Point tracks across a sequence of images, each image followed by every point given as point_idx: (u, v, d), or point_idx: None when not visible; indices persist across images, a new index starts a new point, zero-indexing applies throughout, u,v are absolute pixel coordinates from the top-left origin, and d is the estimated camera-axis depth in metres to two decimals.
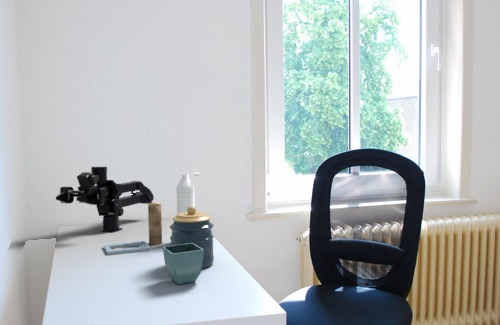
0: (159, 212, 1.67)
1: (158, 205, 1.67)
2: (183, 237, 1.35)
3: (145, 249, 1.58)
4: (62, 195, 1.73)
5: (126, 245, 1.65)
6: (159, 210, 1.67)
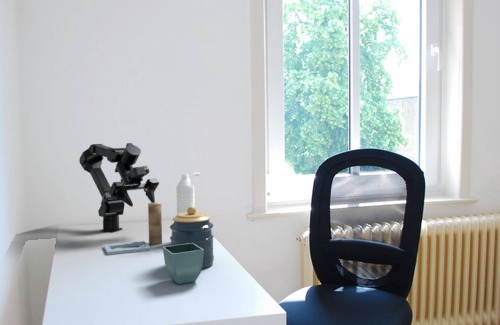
0: (159, 212, 1.67)
1: (158, 205, 1.67)
2: (183, 238, 1.35)
3: (145, 249, 1.58)
4: None
5: (126, 245, 1.65)
6: (159, 210, 1.67)
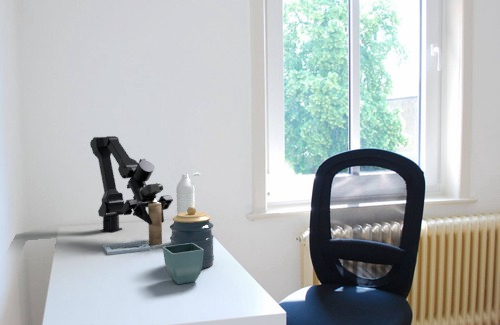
0: (159, 212, 1.67)
1: (158, 205, 1.67)
2: (183, 238, 1.35)
3: (145, 249, 1.58)
4: None
5: (126, 245, 1.65)
6: (159, 210, 1.67)
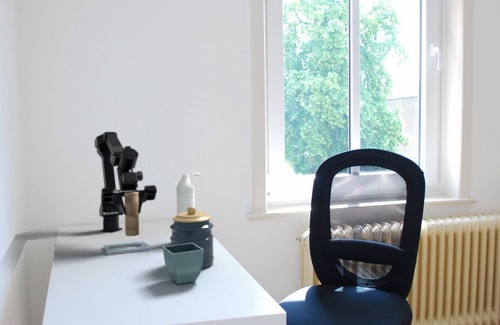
0: (134, 202, 1.59)
1: (132, 195, 1.59)
2: (183, 237, 1.35)
3: (145, 249, 1.58)
4: None
5: (126, 245, 1.65)
6: (134, 200, 1.59)
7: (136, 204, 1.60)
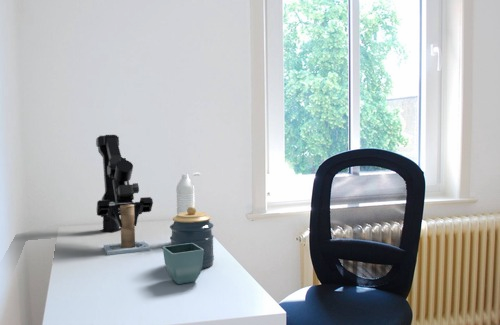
0: (130, 215, 1.59)
1: (128, 207, 1.59)
2: (183, 238, 1.35)
3: (145, 249, 1.58)
4: None
5: None
6: (130, 213, 1.59)
7: (132, 217, 1.60)
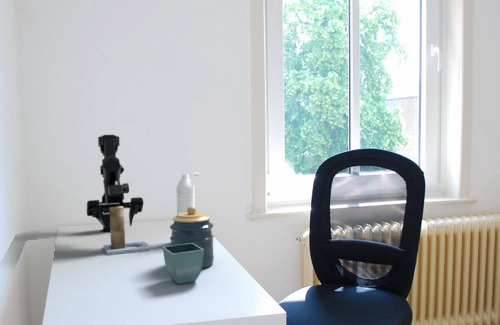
0: (119, 217, 1.58)
1: (117, 209, 1.57)
2: (183, 237, 1.35)
3: (145, 249, 1.58)
4: None
5: (126, 245, 1.65)
6: (119, 215, 1.58)
7: (121, 219, 1.58)
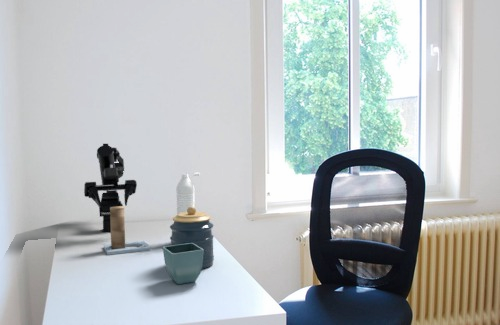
0: (119, 217, 1.58)
1: (118, 209, 1.57)
2: (183, 237, 1.35)
3: (145, 249, 1.58)
4: None
5: (126, 245, 1.65)
6: (119, 215, 1.58)
7: (122, 219, 1.58)
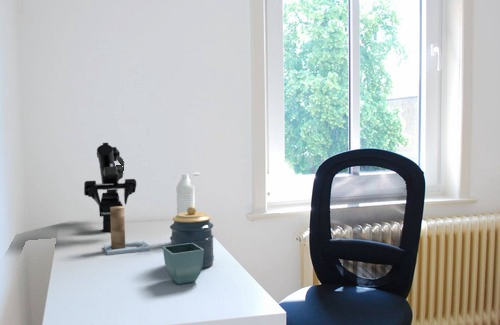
0: (120, 217, 1.58)
1: (118, 209, 1.57)
2: (183, 238, 1.35)
3: (145, 249, 1.58)
4: None
5: (126, 245, 1.65)
6: (120, 215, 1.58)
7: (122, 219, 1.58)
